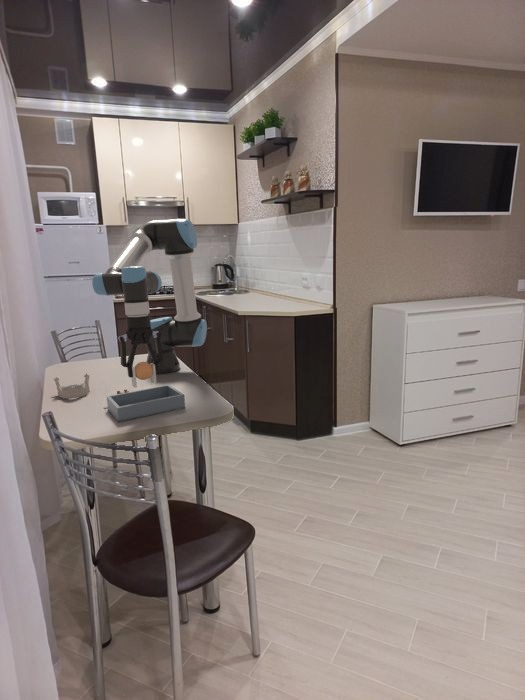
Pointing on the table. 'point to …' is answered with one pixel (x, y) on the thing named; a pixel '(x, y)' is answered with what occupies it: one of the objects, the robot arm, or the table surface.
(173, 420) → the table surface
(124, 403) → the tray
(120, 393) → the tan knobbed round piece
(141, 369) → the ball
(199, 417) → the table surface
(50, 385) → the table surface
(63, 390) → the anatomical model
